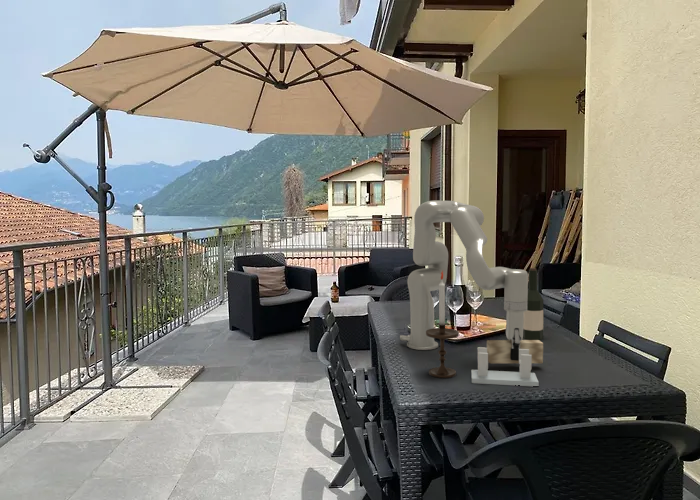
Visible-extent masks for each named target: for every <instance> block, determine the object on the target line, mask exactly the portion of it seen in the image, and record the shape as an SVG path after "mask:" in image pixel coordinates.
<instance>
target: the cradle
mask: <svg viewBox="0 0 700 500" xmlns="http://www.w3.org/2000/svg"><path fill="white" fill-rule="evenodd" d="M518 364H519V371H508V370H507V371H504V370H500V371H499V370H488V369H489V362H488V353H487V347H484V346H483V347H482V346H479V347H477V369H471V370H470V371H471V384H479V385H480V384H483V385H496V386H497V385H499V386H500V385H501V386H515V385H516V387H519V386H518V385H520V387H533V386H539V387H540V385H539V380H538V378H537V375H536V373H535V372H531V370H532V364H533V363H532V355H529V349H519V363H518Z"/></svg>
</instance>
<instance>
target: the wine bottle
mask: <svg viewBox="0 0 700 500" xmlns="http://www.w3.org/2000/svg"><path fill="white" fill-rule="evenodd" d="M543 339H544V299H543V297H542V295H541V293H540V292H539V290H538V270H537V268H535V267H530V268H529V269H528V296H527V311H525V312H524V322H523V340H540V341H542V340H543Z"/></svg>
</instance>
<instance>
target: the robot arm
mask: <svg viewBox="0 0 700 500" xmlns="http://www.w3.org/2000/svg"><path fill="white" fill-rule="evenodd" d="M413 218H414V219H413V220H414V235H413V249H412V259H413V262H414V263H415V265H417V266H419V267H424V268H418V269H415V270H413V271H411V272H410V273H409V275H408V276H407V283H406V284H407V288H408V294H409V304H410V305H409V306H410V307H409V309H410V312H409V313H410V318H409V319H410V334H407V335H403V334H400V335H399V340H400V341H402V342H406V347H408V348H409V349H413V350H417V351H418V350H419V351H429V350H435V349H437V348H438V347H439V343H438V342H437V341H435V338H431V337H428V336H426V330H428V329H433V328H435V303H434V298H433V296H432V294H431V292H434V291H439V284H440V283H441V280H443V284H445V285H446V283H447V277H448V268H449V267H448V265H449V251H448V248H447V246H446V244H444V243H443V242H442V241H437V240H436V235H437V231H436V227H435V225H434V224H435V223H450V224H451V225H452V227H453V228H454V230H455V232H456V234H457V236H458V238H459V239H460V241H461V243H462V244H463V246H464V248H465V251H466V252H465V259H466V261H465V262H466V267H467V270H468V272H469V274H470V276H471V278H472V279H473V281H474V283H475V284H476V286H478V287H479V288H480V289H482V290H484V291H492V290H496V289H504V293H503V294H504V296H503V297H504V298H503V299H504V302H503V304H504V305H503V309H504V311H505V312H506V318H505V319H506V320H505V321H506V322H505V323H506V324H505V325H506V326H505V335H506V336H505V337H506V338H507V339H506V340H511V341H512V348H511V357H510V359H511V360H518V361H519V349H520V340H524V338H523V322H524V312H525V311H527V296H528V290H529V272H528V271H526V270H525V269H518V268H517V269H516V268H509V267H504V266H495V267H494V266H493V267H489V266H488V264H487V262H486V260H485V257H484V255H483V249H484V246H485V245H486V244H487V243H488V237H487V235H486V233H485V232H484V230H483V229H482V225H483V224H484V220H485V216H484V212H483V211H482V209H480V208H479V207H478V206H475V205H473V204H467V203H463V202H459V201H455V200H439V199H438V200H428V201H425V202H423V203H421V204H419V205H418V207H417V208H416V210H415V212H414V217H413ZM442 271H443V279H441V272H442ZM513 341H515V342H514V343H513Z"/></svg>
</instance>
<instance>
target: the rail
mask: <svg viewBox="0 0 700 500" xmlns="http://www.w3.org/2000/svg"><path fill="white" fill-rule="evenodd" d="M514 342H515V341H513V343H514ZM486 348H487V353H488V364H519V361H518V360H511V359H510V357H511V348H512V341H511V340H508V339H502V340H501V339H500V340H499V339H492V340H491V339H490V340H489V339H487V340H486ZM520 349H529V355H532V363H531V364H543V362H544V361H543V360H544V342H542V340H526V339H522V340H520Z"/></svg>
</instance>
